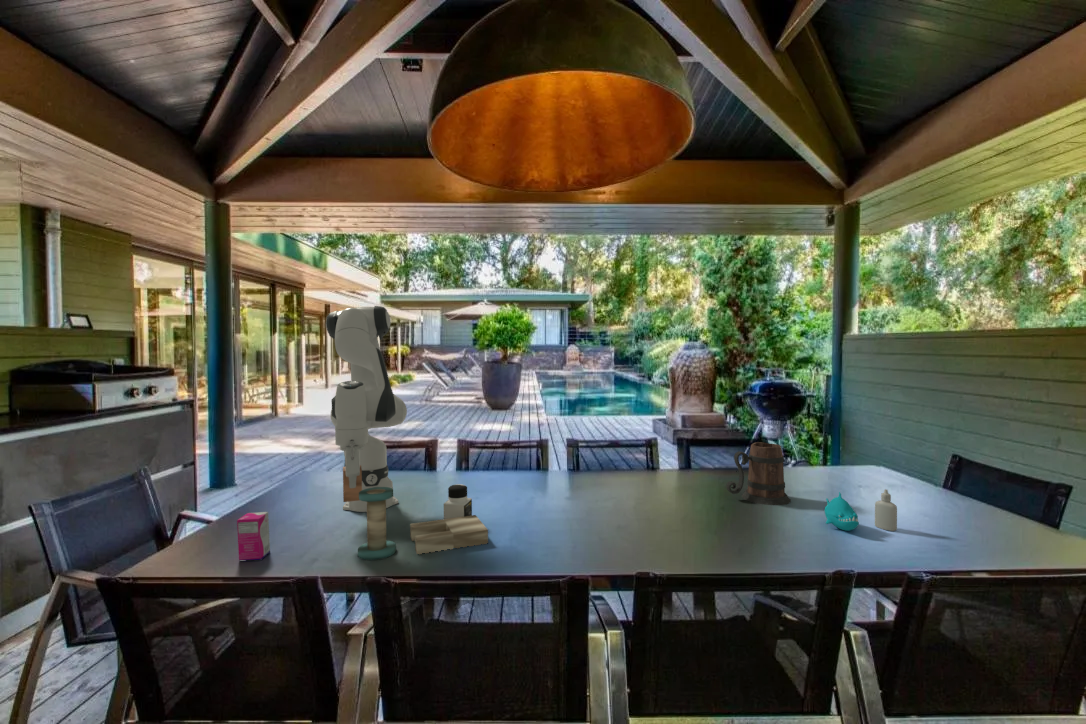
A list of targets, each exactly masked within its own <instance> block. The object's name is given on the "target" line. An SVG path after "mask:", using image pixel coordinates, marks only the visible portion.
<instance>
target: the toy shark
mask: <svg viewBox="0 0 1086 724" xmlns="http://www.w3.org/2000/svg"><path fill="white" fill-rule="evenodd" d="M825 500H826V502H827V505H826V506H824V515H825V517H826V521H825V524H826V525H829V524H831V525H833V526H835V527H836V528H838V529H840V530H841V531H845V532H847V531H849V532H850V531H853V530H855V529H857V528H858V526H859V525H860V522H859V518H858V517H859V516H858V515H857V512H856V511H855V510H854V508H853V507H852V506H851V505H850V503H849V502H848V501H847V500H846V499H844V498H843V497H842V494H841V492H840V491H839V492H838V496H837V497H834V498H832V499H831V500H830V501H829V499H828V498H827V497H826V498H825Z"/></svg>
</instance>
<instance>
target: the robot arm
mask: <svg viewBox="0 0 1086 724" xmlns="http://www.w3.org/2000/svg"><path fill="white" fill-rule="evenodd" d="M391 323H392V321H391V315H390V313H389V312H388V310H387V309H386V307H384V306H381V305H380V306H379V305H374V306H359V307H358V306H357V307H347V308H345V309H342V310H335V311H331V312H330V313H329V314H328V315H326V320H325V328H326V331H327V333H328V336H329V337H330V338H332V339H333V340H334V346H335V347H334V348H335V352H336V354H337V356H339V357H340V358H341V359H342V360H343V361H345V362H346V363H349V364H350V367H349V368H350V379H351V380H347V381H342V382H340V383H338V384H337V385H336V390H335V395H334V396H333V397H332V399H331V410H330V420H331V423H332V424H333V426H334V427H335V430H334V431H335V434H334V436H335V437H334V440H335V445H336V446H339V449H340V451H342V452H343V453H344V460H345V461H344V462H345V463H344V467H345V469H346V476H347V477H349V487H350V488H355V487H356V477H357V476H359V474H360V465H361V468H362V490H364V489H368V488H373V487H389V488H392V489H393V490H394V486H393V485H394V482H393V480H391V478H390V477H389V465H388V464H387V461H388V459H387V455H388V454H387V445H386V443H385V441H383V440H382V439H379V438H377V437H375V436H372V435H370V434H369V430H371V429H378V428H391V427H395V426H398V425H401V424H403V422H404V421H405V420H406V417H407V414H408V412H407V411H408V408H407V405H406V403H405V402H404V400H403V399H402V398H400V397H399V396H397V395H395V394H394V392H393V389H392V386H391V383H390V379H389V378H390V377H389V374H388V371H387V366H386V363H385V360H384V356H383V354H382V352H381V347H380V344H379V340H380V341H382V340H383V337H384V336H385V335H387V334H388V332H389V330H390V328H391ZM378 337H379V338H378ZM378 339H379V340H378ZM397 504H399V499H397V497H395V496H394V495H393V497H391V498H390V499H387V500H386V509H388V508H390V507H391V506H394V505H397ZM342 510H345V511H352V512H358V513H359V512H360V513H367V502H366V501H361V500H358V501H349V502H344V505H343V506H342Z"/></svg>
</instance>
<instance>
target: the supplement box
mask: <svg viewBox="0 0 1086 724" xmlns="http://www.w3.org/2000/svg"><path fill="white" fill-rule="evenodd" d="M269 524H270V522H269V511H260V512H247V513H246V514H244V515H242V516H241V517H239V518H238V519H237V520H236V525H237V526H236V527H237V547H238V548H237V549H238V561H239V560H261V559H262V560H264V558H266V556H268V555H269V554H270V553H271V542H270V525H269ZM267 554H268V555H267ZM262 560H261V561H262Z"/></svg>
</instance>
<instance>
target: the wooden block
mask: <svg viewBox="0 0 1086 724" xmlns="http://www.w3.org/2000/svg"><path fill="white" fill-rule="evenodd" d="M342 491H343V497H342V498H343V503H346V502H349V501H358V500H359V492H360V491H362V468H361V465H360V474H359V476H357V477H356V487H355V488H350V487H349V477H347V476H346V469H345V466H342Z"/></svg>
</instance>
